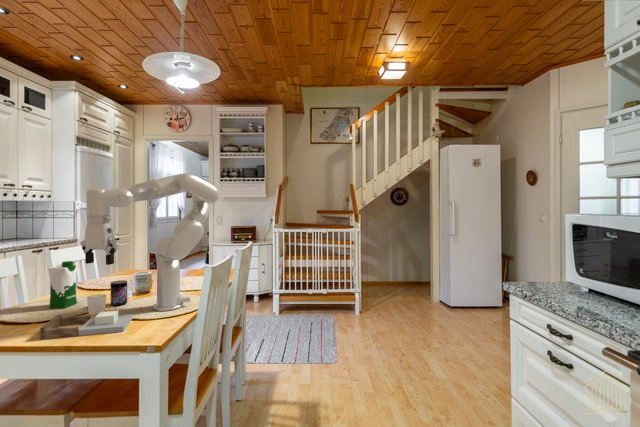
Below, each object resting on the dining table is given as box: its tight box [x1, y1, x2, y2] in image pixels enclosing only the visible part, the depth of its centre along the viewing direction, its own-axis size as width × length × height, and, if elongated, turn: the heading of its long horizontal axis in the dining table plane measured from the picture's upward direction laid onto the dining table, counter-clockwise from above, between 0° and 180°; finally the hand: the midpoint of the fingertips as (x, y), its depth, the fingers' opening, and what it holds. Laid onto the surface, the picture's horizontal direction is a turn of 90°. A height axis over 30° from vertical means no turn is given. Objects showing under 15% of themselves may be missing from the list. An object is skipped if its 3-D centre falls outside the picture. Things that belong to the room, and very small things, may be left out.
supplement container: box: [110, 279, 128, 307], centre depth 153 cm, size 7×7×10 cm
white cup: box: [86, 294, 107, 316], centre depth 141 cm, size 7×7×7 cm
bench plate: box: [77, 313, 133, 337], centre depth 125 cm, size 14×14×2 cm
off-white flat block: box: [94, 310, 119, 325], centre depth 125 cm, size 6×6×3 cm
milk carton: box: [47, 260, 79, 309], centre depth 149 cm, size 9×9×20 cm
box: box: [39, 314, 92, 340], centre depth 121 cm, size 11×14×4 cm
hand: (99, 263), depth 131 cm, fingers open, 9 cm apart
